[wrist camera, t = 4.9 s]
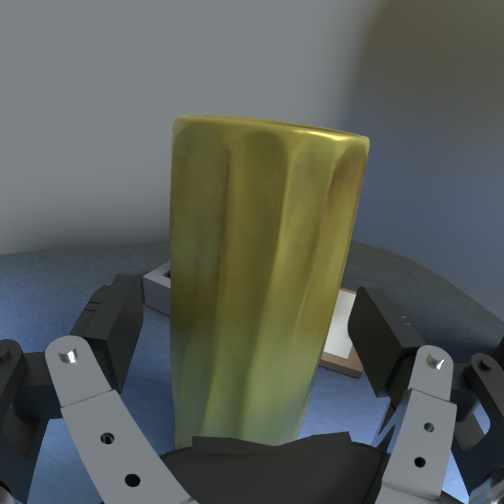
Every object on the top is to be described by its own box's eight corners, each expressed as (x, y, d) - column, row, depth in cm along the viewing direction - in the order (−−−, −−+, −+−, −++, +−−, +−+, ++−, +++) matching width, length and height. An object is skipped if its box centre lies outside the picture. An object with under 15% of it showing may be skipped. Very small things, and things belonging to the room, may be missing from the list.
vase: (206, 380, 17) (219, 114, 11) (306, 413, 16) (381, 138, 10) (152, 457, 12) (104, 117, 6) (273, 505, 10) (401, 149, 4)
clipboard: (223, 329, 22) (224, 313, 21) (276, 273, 30) (278, 260, 30) (359, 378, 18) (365, 363, 18) (377, 304, 27) (381, 291, 26)
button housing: (145, 304, 23) (142, 276, 22) (182, 278, 28) (182, 253, 27) (197, 328, 22) (197, 299, 21) (231, 297, 26) (234, 270, 25)
